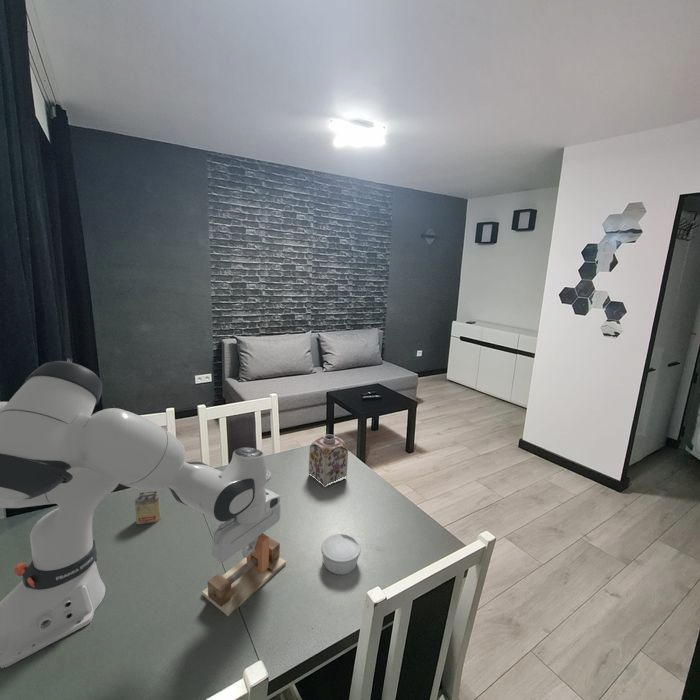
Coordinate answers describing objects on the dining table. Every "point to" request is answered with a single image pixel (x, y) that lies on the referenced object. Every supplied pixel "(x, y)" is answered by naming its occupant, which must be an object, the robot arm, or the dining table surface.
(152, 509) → the lighter
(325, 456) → the decorative jar
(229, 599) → the rod stand
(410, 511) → the dining table surface
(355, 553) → the ramekin
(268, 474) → the showerhead
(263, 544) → the collar
